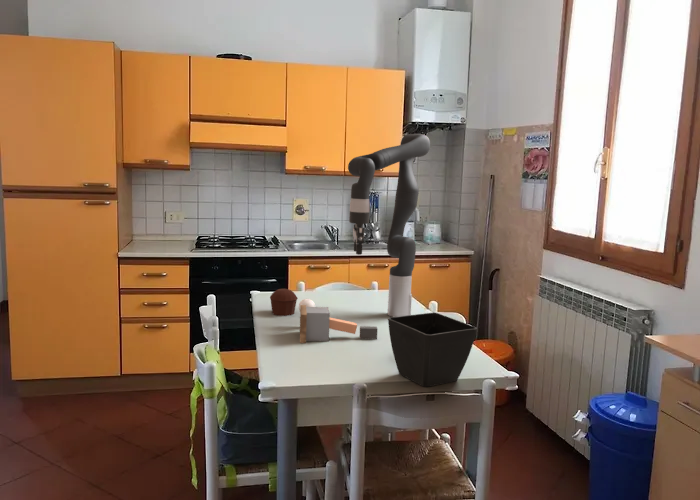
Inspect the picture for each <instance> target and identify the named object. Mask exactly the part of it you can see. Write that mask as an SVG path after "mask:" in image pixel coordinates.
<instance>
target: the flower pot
mask: <svg viewBox="0 0 700 500" xmlns="http://www.w3.org/2000/svg"><path fill="white" fill-rule="evenodd" d="M387 322H388V332H389V338H390V343H391V344H390V345H391V349H392V354H393V358H394V362H395V364H396V368H397V372H398V374H399V375H401V376H403V377H405V378H407V379H408V380H410V381H413V382H414V383H416V384H418V385H420V386H421V387H425V388H428V387H434V386H439V385H443V384H448V383H454V382H457V381H458V380H459V378H460V376H461V373H462V372H463V369H464V368H465V366H466V363H467V360H468V358H469V356H470V353H471V351H472V348H473V345H474V342H475V338H476V335H477V331H478V327H476V326H474V325H470V324H469V323H465V322H463V321H461V320H458V319H456V318H452V317H449V316H447V315H443V314H441V313H437V312H427V313H425V312H424V313H418V314H416V313H415V314H411V315H408V316H400V317H391V316H390V317H388V318H387Z"/></svg>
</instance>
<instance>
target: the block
mask: <svg viewBox="0 0 700 500" xmlns="http://www.w3.org/2000/svg"><path fill="white" fill-rule="evenodd" d="M306 311H307V322H306V342H329V339H330V329H329V320H330V318H331V316H330V315H331V314H330V313H331V312H330V310H329V306H315V307H306Z"/></svg>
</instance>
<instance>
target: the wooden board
mask: <svg viewBox="0 0 700 500" xmlns="http://www.w3.org/2000/svg"><path fill="white" fill-rule="evenodd" d="M299 312H300V314H299V343H300V344H306V343H307V341H306V322H307V311H306V305H300V310H299Z"/></svg>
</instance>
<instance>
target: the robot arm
mask: <svg viewBox="0 0 700 500" xmlns="http://www.w3.org/2000/svg"><path fill="white" fill-rule="evenodd" d="M430 150H431V140H430V139H429V137H428V136H427V135H425V134H423V133H422V134H421V133H407V134H404V136H402V138H401V141H400V145H394V146H389V147H385V148H382V149H379V150H376V151H373V152H371V153H369V154H364V155H360V156H356V157H353V158H352V159H351V160H350V161H349V163H348V164H347V170H348V172H349V173H350V175H352V176H353V177H358V180H357V182H355V183H352V184H351V189H350V201H349V202H350V203H349V217H348V218H349V220H348V222H349V223H350V224H353V228H352V238H353V239H352V240H353V251H354V252H355V254H356V255H358V256H359V255H362V254H363V245H364V244H365V240H364V239H365V227H363V226H364V225H368V224H369V222H370V207H371V206H370V194H371V193H370V190H371V189H370V188H371V185H372V183H373V179H374V176H375V172H376V171H380V170H383V169H384V168H385V169H386V168H387V167H390V166H392V165H395V164H398V165H399V166H398V176H397V185H396V191H395V196H394V197H395V198H394V206H393V207H394V208H393V214H392V220H391V226H390V229H389V233H388V238H387V242H386V243H387V244H386V250H387V254H388V255H389V256H390V257H391V258H397V259H398V262H397V264H396V265H393V266H390V268H389V276H388V277H389V278H388V279H389V281H388V301H387V316H389V317H390V318H391V317H400V316H408V315H412V302H413V301H412V300H413V299H412V298H413V297H412V296H413V295H412V280H413V279H412V277H413V276H412V275H413V270H414V268H415V261H416V254H417V253H416V251H417V250H416V249H417V247H416V242H415V240H414V239H413V238H412V237H409V236H404V232H405V227H406V224H407V223H408V221H409V219H410V217H411V216H412V215H413V214H414V212H415V211H416V208H417V206H418V200H419V194H420V193H419V192H420V191H419V190H420V189H419V188H420V187H419V185H418V182H417V179H416V176H415V173H414V158H421V157H425V156H426V155H428V153H429V151H430Z"/></svg>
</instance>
